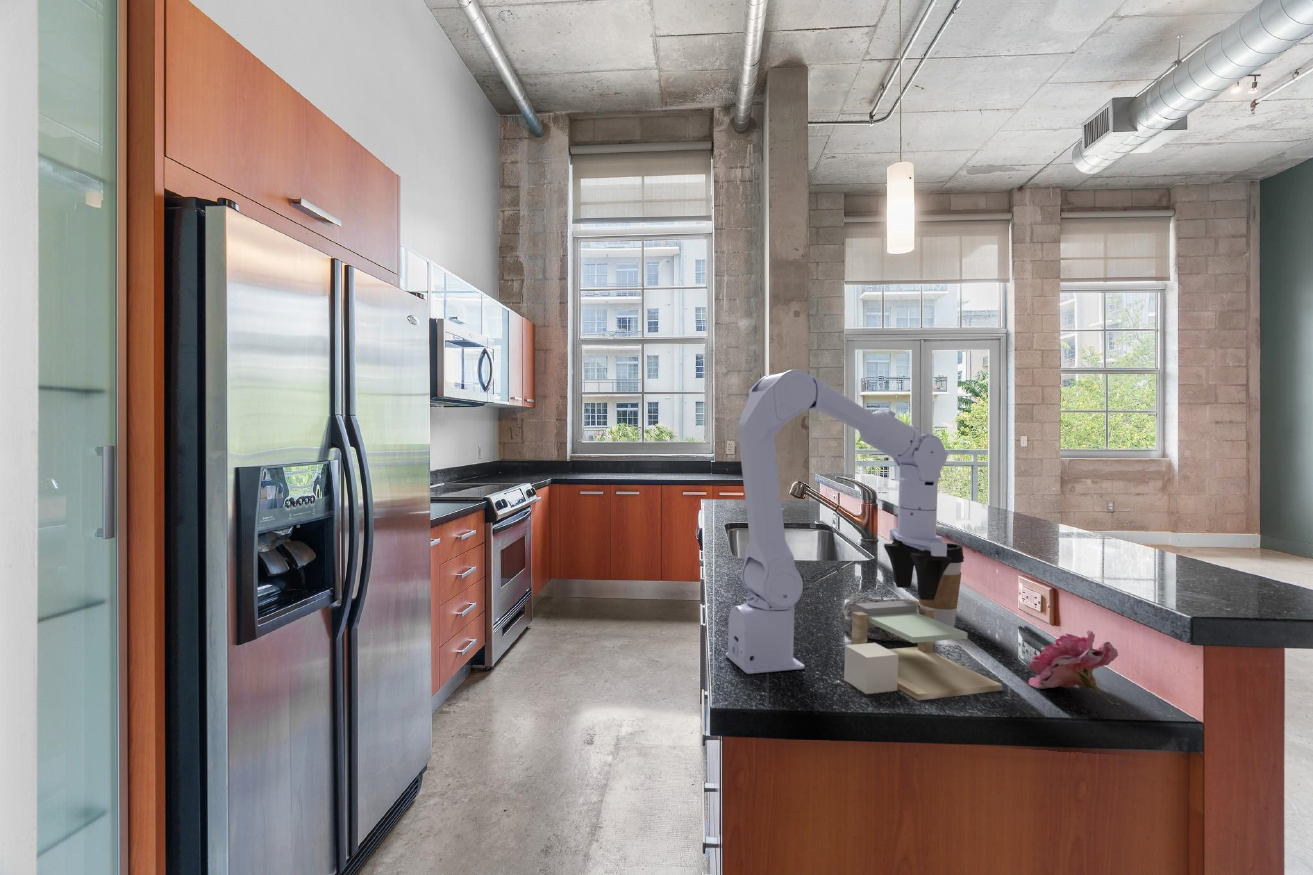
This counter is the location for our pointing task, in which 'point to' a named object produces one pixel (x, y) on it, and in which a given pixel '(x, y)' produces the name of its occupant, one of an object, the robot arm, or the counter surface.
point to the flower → (1070, 662)
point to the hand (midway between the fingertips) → (914, 593)
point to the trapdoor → (907, 622)
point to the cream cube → (871, 668)
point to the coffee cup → (947, 588)
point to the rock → (875, 631)
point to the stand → (928, 668)
